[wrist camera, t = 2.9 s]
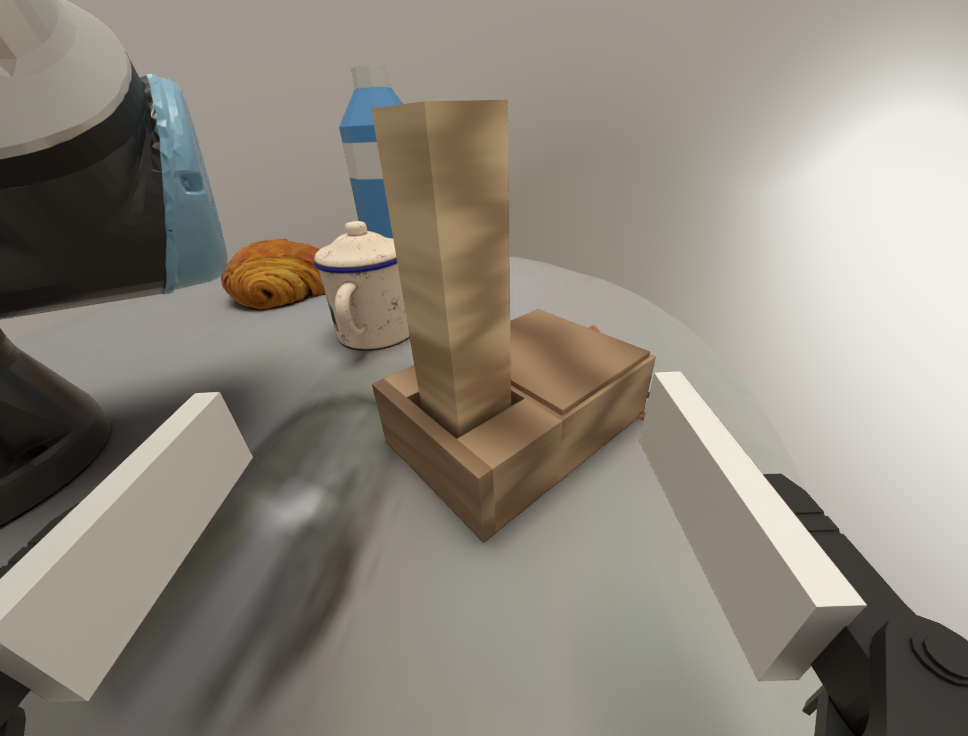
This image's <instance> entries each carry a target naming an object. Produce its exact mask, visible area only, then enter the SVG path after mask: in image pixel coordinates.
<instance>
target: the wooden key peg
mask: <svg viewBox="0 0 968 736" xmlns="http://www.w3.org/2000/svg"><path fill="white" fill-rule="evenodd" d="M371 109H372V115H373V121H374V127H375V133H376V139H377V145H378V151H379V157H380V163H381V169H382V175H383V181H384V187H385V193H386V198H387V204H388V210H389V216H390V222H391V228H392V234H393V240H394V246H395V252H396V258H397V264H398V270H399V276H400V282H401V288H402V294H403V300H404V306H405V312H406V318H407V324H408V330H409V336H410V342H411V348H412V354H413V360H414V366H415V372H416V378H417V383H418V389H419V395H420V401H421V407H422V411H424V412H425V413H426V414H427V415H428V416H430V417H431V418H432V419H433V420H434V421H436V422H437V423H438V424H439V425H440V426H442V427H443V428H444V429H445V430H446V431H448V432H449V433H450V434H451V435H452V436H454V437H455V438H456V439H458V438H459V437H461V436H463V435H465V434H466V433H468V432H470V431H471V430H473V429H475V428H476V427H478V426H480V425H481V424H483V423H485V422H486V421H488V420H490V419H491V418H493V417H495V416H496V415H498V414H500V413H501V412H503V411H505V410H506V409H508V408H510V407H511V351H510V265H509V182H508V101H507V100H487V101H486V100H482V101H434V102H433V101H432V102H418V103H409V104H401V105H393V106H384V107H376V108H371Z"/></svg>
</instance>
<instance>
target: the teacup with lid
mask: <svg viewBox="0 0 968 736" xmlns="http://www.w3.org/2000/svg"><path fill="white" fill-rule="evenodd" d="M345 230H346V234H344V235H342V236H340V237H338V238H337V239H336V240H335V241H334V242H333V243H332V244H331V245H328V246H326V247H324V248H322V249H320V250H319V251H318V252H317V253H316V255H315V258H314V259H315V261H314V265H315V267H316V268H317V269H318V270H319V273H320V277H321V280H322V284H323V287H324V291H325V295H326V298H327V302H328V305H329V309H330V312H331V316H332V320H333V323H334V327H335V330H336V334H337V337H338V339H339V341H340V342H341V343H342V344H344V345H346V346H348V347H351V348H356V349H377V348H383V347H387V346H391V345H394V344H397V343H399V342H401V341H403V340H405V339H406V338H408V337H409V330H408V324H407V318H406V312H405V306H404V300H403V294H402V288H401V282H400V276H399V270H398V264H397V258H396V252H395V246H394V240H393V239H392V238H386V237H383V236H382V235H380V234H378V233H375V232H371V231H367V227H366V224H365V223H364V222H362V221H355V222H350V223H347V224H346V226H345Z"/></svg>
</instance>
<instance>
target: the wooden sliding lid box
mask: <svg viewBox="0 0 968 736" xmlns="http://www.w3.org/2000/svg"><path fill="white" fill-rule="evenodd" d="M510 351H511V407H510V408H508V409H506V410H505V411H503V412H501V413H500V414H498V415H496V416H495V417H493V418H491V419H490V420H488V421H486V422H485V423H483V424H481V425H480V426H478V427H476V428H475V429H473V430H471V431H470V432H468V433H466V434H465V435H463V436H461V437H459V438H458V439H456V438H455V437H454V436H452V435H451V434H450V433H449V432H448V431H446V430H445V429H444V428H443V427H442V426H440V425H439V424H438V423H437V422H436V421H434V420H433V419H432V418H431V417H430V416H428V415H427V414H426V413H425V412H424V411H422V407H421V401H420V395H419V389H418V383H417V378H416V372H415V366H412V367H410V368H407V369H405V370H403V371H400V372H398V373H396V374H394V375H391V376H389V377H387V378H384V379H382V380H380V381H378V382H375V383H373V384H372V387H373V391H374V395H375V399H376V403H377V407H378V411H379V415H380V419H381V423H382V427H383V432H384V436H385V440H386V441H387V442H388V443H389V444H390V445H391V446H392V448H393V449H394V450H395V451H396V452H397V453H398V454H399V455H400V456H401V457H402V458H403V459H404V460H405V461H406V462H407V463H408V464H409V465H410V466H411V467H412V468H413V469H414V470H415V471H416V473H417V474H418V475H419V476H420V477H421V478H422V479H423V480H424V481H425V482H426V483H427V484H428V485H429V486H430V487H431V488H432V489H433V490H434V491H435V492H436V493H437V494H438V495H439V496H440V498H441V499H442V500H443V501H444V502H445V503H446V504H447V505H448V506H449V507H450V508H451V509H452V510H453V511H454V512H455V513H456V514H457V515H458V516H459V517H460V518H461V519H462V520H463V522H464V523H465V524H466V525H467V526H468V527H469V528H470V529H471V530H472V531H473V532H474V533H475V534H476V535H477V536H478V537H479V538H480V539H481V540H482V541H483V542H485V541H486V540H487V539H488V538H490V537H491V536H492V535H493V534H495V533H496V532H497V531H498V530H499V529H501V528H502V527H503V526H504V525H506V524H507V523H508V522H509V521H511V520H512V519H513V518H514V517H516V516H517V515H518V514H519V513H520V512H522V511H523V510H524V509H525V508H527V507H528V506H529V505H530V504H532V503H533V502H534V501H535V500H537V499H538V498H539V497H540V496H541V495H543V494H544V493H545V492H546V491H548V490H549V489H550V488H551V487H553V486H554V485H555V484H556V483H558V482H559V481H560V480H561V479H562V478H564V477H565V476H566V475H567V474H569V473H570V472H571V471H572V470H574V469H575V468H576V467H577V466H579V465H580V464H581V463H582V462H583V461H585V460H586V459H587V458H588V457H590V456H591V455H592V454H593V453H595V452H596V451H597V450H598V449H600V448H601V447H602V446H603V445H604V444H606V443H607V442H608V441H609V440H611V439H612V438H613V437H614V436H616V435H617V434H618V433H619V432H621V431H622V430H623V429H624V428H625V427H627V426H628V425H629V424H630V423H632V422H633V421H634V420H635V419H637V417H638V415H639V413H644V408H645V404H646V399H647V395H648V390H649V385H650V381H651V376H652V372H653V367H654V363H655V358H656V356H653V355H651V354H650V351H647V350H644V349H642V348H639V347H636V346H634V345H631V344H629V343H626V342H623V341H621V340H618V339H615V338H613V337H610V336H608V335H605V334H602V333H600V332H597V331H594V330H592V329H589V328H587V327H584V326H581V325H579V324H576V323H573V322H571V321H568V320H566V319H563V318H560V317H558V316H555V315H553V314H550V313H547V312H545V311H542V310H539V309H537V310H535V311H532V312H530V313H528V314H525V315H523V316H521V317H518V318H516V319H514V320H512V321H510Z"/></svg>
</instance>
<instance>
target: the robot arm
mask: <svg viewBox="0 0 968 736" xmlns="http://www.w3.org/2000/svg"><path fill="white" fill-rule="evenodd" d="M227 260H228V259H227V253H226V247H225V242H224V237H223V233H222V229H221V225H220V221H219V217H218V213H217V209H216V205H215V201H214V198H213V194H212V190H211V187H210V182H209V179H208V175H207V172H206V168H205V165H204V161H203V157H202V154H201V150H200V146H199V143H198V139H197V136H196V133H195V129H194V126H193V123H192V119H191V116H190V112H189V109H188V106H187V104H186V101H185V99H184V97H183V93H182V91H181V89H180V87H179V86H178V85H177V84H176V83H175V82H173V81H170V80H168V79H163V78H159V77H157V76H154V75H153V74H146V76H143V77H140V78H139V76H138V74H137V73H136V70H135V69H134V67H133V65H132V63H131V61H130V59H129V57H128V55H127V53H126V51H125V50H124V48H123V46H122V45H121V43H120V42H119V41H118V39H117V38H116V36H115V34H114V33H113V32H112V31H111V30H110V29H109V28H108V27H107V26H106V25H105V24H104V23H103V22H101V21H100V20H98V19H97V18H96V17H94V16H93V15H91V14H90V13H88V12H86V11H85V10H83V9H81V8H79V7H78V6H76V5H74V4H72V3H71V2H69V1H67V0H0V319H6V318H13V317H19V316H25V315H31V314H38V313H44V312H51V311H57V310H63V309H69V308H75V307H81V306H88V305H94V304H101V303H106V302H113V301H119V300H126V299H132V298H138V297H145V296H151V295H157V294H170V293H172V292H173V291H174V290H176V289H180V288H184V287H189V286H193V285H197V284H202V283H206V282H210V281H213V280H215V279H217V278H218V277H219V276H221V275H222V274H223V272H224V271H225V269H226V267H227ZM110 432H111V423H110V420H109V419H108V417H107V416H106V415H105V413H104V412H103V411H102V409H101V408H100V406H99V405H98V404H97V402H96V401H95V400H94V399H93V398H92V397H91V396H90V395H89V394H87V393H86V392H84V391H83V390H81V389H80V388H78V387H77V386H75V385H74V384H72V383H71V382H69V381H67V380H66V379H64V378H63V377H61V376H60V375H58V374H57V373H55V372H54V371H52V370H51V369H49V368H48V367H46V366H45V365H43V364H42V363H40V362H38V361H37V360H35V359H34V358H32V357H31V356H29V355H28V354H26V353H25V352H23V351H22V350H20V349H19V348H17V347H16V346H15V345H14V344H13V343H12V342H11V341H10V340H9V339H8V338H7V337H6V335H5V334H4V333H3V331H2V330H1V329H0V525H2V524H4V523H6V522H8V521H9V520H11V519H13V518H15V517H16V516H18V515H20V514H22V513H23V512H25V511H27V510H28V509H30V508H31V507H33V506H35V505H36V504H38V503H39V502H41V501H42V500H44V499H45V498H47V497H48V496H50V495H51V494H53V493H54V492H56V491H57V490H58V489H60V488H61V487H62V486H64V485H65V484H66V483H68V482H69V481H70V480H71V479H73V478H74V477H75V476H76V475H77V474H79V473H80V472H81V471H82V470H83V469H84V468H85V467H86V466H87V465H88V464H89V463H90V462H91V461H92V460H93V459H94V458H95V457H96V456H97V455H98V454H99V452H100V451H101V450H102V448H103V447H104V445H105V444H106V442H107V440H108V438H109V436H110ZM639 442H640V444H641V446H642V448H643V450H644V452H645V454H646V456H647V458H648V460H649V462H650V465H651V467H652V469H653V471H654V473H655V475H656V477H657V479H658V481H659V483H660V485H661V487H662V489H663V491H664V493H665V495H666V497H667V499H668V501H669V503H670V505H671V507H672V509H673V511H674V513H675V515H676V517H677V519H678V521H679V523H680V525H681V527H682V529H683V531H684V533H685V535H686V537H687V539H688V541H689V543H690V545H691V547H692V549H693V551H694V553H695V555H696V557H697V559H698V561H699V563H700V565H701V567H702V569H703V571H704V573H705V575H706V577H707V579H708V581H709V583H710V585H711V587H712V589H713V591H714V593H715V595H716V597H717V599H718V601H719V603H720V605H721V607H722V609H723V611H724V613H725V615H726V617H727V619H728V621H729V623H730V625H731V627H732V629H733V631H734V633H735V635H736V638H737V640H738V642H739V644H740V646H741V648H742V650H743V652H744V654H745V656H746V658H747V660H748V662H749V664H750V666H751V668H752V670H753V672H754V674H755V676H756V678H757V680H758V681H776V680H799V679H800V678H801V677H802V675H803V674H804V673H805V672H806V671H807V670H808V669H809V668H810V667H811V666H812V668H813V669H814V671H815V673H816V674H817V676H818V677H819V679H820V681H821V682H822V684H823V685H822V686H821V687H820V688H819V689H818V690H817V691H816V692H815V693H814V694H813V695H812V696H811V697H810V698H809V699H808V700H807V701H806V704H805V706H804V708H803V710H802V711H803V712H805V713H806V714H808V715H809V716H810V715H811V714H812V713H813V712H814V711H815V710H816V709H817V715H816V725H815V735H814V736H968V641H967V640H966V639H965V638H963V637H962V636H960V635H958V634H957V633H955V632H953V631H952V630H950V629H948V628H947V627H945V626H943V625H941V624H940V623H937V622H935V621H932V620H929V619H926V618H923V617H921V616H917V615H916V614H915V613H914V612H913V611H912V610H911V609H910V608H909V607H908V606H907V605H906V604H905V603H904V602H903V601H902V600H901V599H900V598H899V596H898V595H897V594H896V593H895V592H894V591H893V590H892V588H891V587H890V586H889V585H888V584H887V583H886V582H885V581H884V579H883V578H882V577H881V576H880V575H879V574H878V573H877V571H875V569H874V568H873V567H872V566H871V565H870V564H869V563H868V561H867V560H866V559H865V558H864V557H863V556H862V554H861V553H860V552H859V551H858V550H857V549H856V548H855V547H854V545H853V544H852V543H851V542H850V541H849V540H848V539H847V538H846V536H845V535H844V534H841V533H840V532H839V528H838V527H837V526H836V525H835V524H834V523H833V522H832V520H831V519H830V518H829V517H828V516H825V515H824V511H823V510H822V509H821V508H820V507H819V506H818V504H817V503H816V502H815V501H814V500H813V499H812V498H811V497H810V495H809V494H808V493H807V492H806V491H805V490H804V489H802V488H801V487H799V486H798V485H796V484H795V483H794V482H792V481H791V480H789V479H788V478H787V477H785V476H784V475H782V474H762V473H761V472H760V471H759V469H758V468H757V467H756V466H755V464H754V463H753V462H752V461H751V459H750V458H749V457H748V456H747V454H746V453H745V452H744V451H743V449H742V448H741V447H740V446H739V444H738V443H737V442H736V441H735V439H734V438H733V437H732V436H731V434H730V433H729V432H728V431H727V429H726V428H725V427H724V426H723V424H722V423H721V422H720V421H719V419H718V418H717V417H716V416H715V414H714V413H713V412H712V411H711V409H710V408H709V407H708V406H707V404H706V403H705V402H704V401H703V399H702V398H701V397H700V396H699V394H698V393H697V392H696V391H695V389H694V388H693V387H692V386H691V384H690V383H689V382H688V381H687V379H686V378H685V377H684V376H683V374H682V373H681V372H660V373H654V376H653V381H652V385H651V390H650V394H649V399H648V403H647V408H646V412H645V417H644V421H643V426H642V431H641V435H640V440H639ZM252 458H253V457H252V455H251V453H250V451H249V449H248V447H247V445H246V443H245V441H244V439H243V437H242V435H241V433H240V431H239V429H238V427H237V425H236V423H235V421H234V419H233V417H232V415H231V413H230V411H229V409H228V407H227V405H226V403H225V401H224V399H223V397H222V395H221V393H220V392H209V393H195V394H194V395H193V396H192V397H190V398H189V399H188V400H187V401H186V402H185V403H184V404H183V405H182V406H181V407H180V408H179V409H178V410H177V411H176V412H175V413H174V414H173V415H172V416H171V417H170V418H168V419H167V420H166V421H165V422H164V423H163V424H162V425H161V426H160V427H159V428H158V429H157V430H156V431H155V432H154V433H153V434H152V435H151V436H150V437H149V438H148V439H146V440H145V441H144V442H143V443H142V444H141V445H140V446H139V447H138V448H137V449H136V450H135V451H134V452H133V453H132V454H131V455H130V456H129V457H128V458H127V459H126V460H124V461H123V462H122V463H121V464H120V465H119V466H118V467H117V468H116V469H115V470H114V471H113V472H112V473H111V474H110V475H109V476H108V477H107V478H106V479H105V480H104V481H102V482H101V483H100V484H99V485H98V486H97V487H96V488H95V489H94V490H93V491H92V492H91V493H90V494H89V495H88V496H87V497H86V498H85V499H84V500H83V501H82V502H80V503H78V504H76V505H75V506H73V507H72V508H70V509H69V510H67V511H66V512H64V513H63V514H61V515H60V516H58V517H57V518H55V519H54V520H52V521H51V522H50V523H49V524H47V525H46V526H45V527H44V528H43V529H42V530H41V531H40V532H39V533H38V534H37V535H36V536H35V537H33V538H32V539H31V540H30V541H29V542H28V546H27V547H23V548H22V549H21V550H20V551H18V552H17V553H16V554H15V555H14V556H13V557H12V558H11V559H10V560H9V561H8V565H7V566H2V567H1V568H0V736H24V730H25V722H26V717H25V712H24V709H23V708H21V707H19V706H18V705H19V704H20V702H21V701H22V700H23V699H24V697H25V696H26V695H27V694H28V692H29V691H30V690H31V691H32V692H34V693H35V694H37V695H39V696H40V697H42V698H44V699H45V700H47V701H49V702H82V701H89V699H90V698H91V696H92V695H93V693H94V692H95V690H96V689H97V688H98V686H99V685H100V683H101V682H102V680H103V679H104V677H105V676H106V674H107V673H108V671H109V670H110V668H111V667H112V665H113V664H114V662H115V661H116V659H117V658H118V656H119V655H120V653H121V652H122V650H123V649H124V648H125V646H126V645H127V643H128V642H129V640H130V639H131V637H132V636H133V634H134V633H135V631H136V630H137V628H138V627H139V625H140V624H141V622H142V621H143V619H144V618H145V616H146V615H147V613H148V612H149V611H150V609H151V608H152V606H153V605H154V603H155V602H156V600H157V599H158V597H159V596H160V594H161V593H162V591H163V590H164V588H165V587H166V585H167V584H168V582H169V581H170V579H171V578H172V576H173V575H174V573H175V572H176V571H177V569H178V568H179V566H180V565H181V563H182V562H183V560H184V559H185V557H186V556H187V554H188V553H189V551H190V550H191V548H192V547H193V545H194V544H195V542H196V541H197V539H198V538H199V536H200V535H201V533H202V532H203V531H204V529H205V528H206V526H207V525H208V523H209V522H210V520H211V519H212V517H213V516H214V514H215V513H216V511H217V510H218V508H219V507H220V505H221V504H222V502H223V501H224V499H225V498H226V496H227V495H228V494H229V492H230V491H231V489H232V488H233V486H234V485H235V483H236V482H237V480H238V479H239V477H240V476H241V474H242V473H243V471H244V470H245V468H246V467H247V465H248V464H249V462H250V461H251V459H252Z"/></svg>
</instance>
